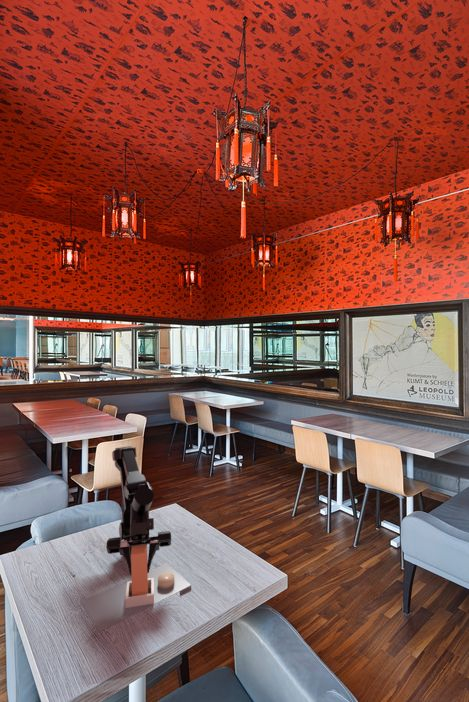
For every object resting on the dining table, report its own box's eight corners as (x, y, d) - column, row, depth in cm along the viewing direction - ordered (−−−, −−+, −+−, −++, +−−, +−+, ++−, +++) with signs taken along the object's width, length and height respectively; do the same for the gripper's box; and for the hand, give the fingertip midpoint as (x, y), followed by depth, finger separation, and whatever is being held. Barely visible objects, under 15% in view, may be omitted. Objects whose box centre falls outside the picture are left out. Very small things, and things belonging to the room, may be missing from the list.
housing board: (80, 604, 107) (80, 592, 107) (166, 565, 125) (166, 555, 125) (99, 636, 95) (98, 622, 95) (191, 588, 113) (190, 577, 113)
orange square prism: (132, 589, 110) (131, 546, 110) (148, 587, 111) (147, 544, 111) (132, 599, 106) (131, 554, 105) (147, 597, 107) (146, 552, 106)
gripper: (106, 512, 110) (102, 571, 99) (170, 505, 114) (173, 561, 103) (109, 525, 117) (106, 581, 107) (169, 518, 122) (172, 572, 111)
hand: (139, 574), depth 107 cm, fingers closed on orange square prism, 4 cm apart
